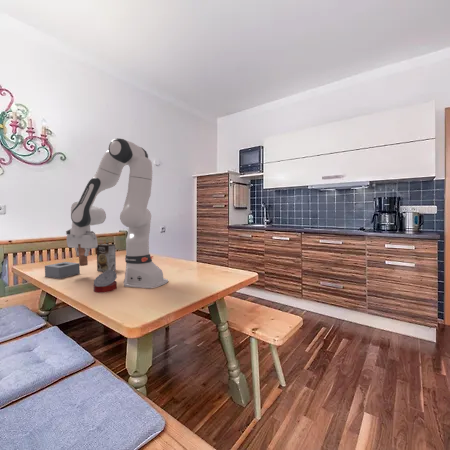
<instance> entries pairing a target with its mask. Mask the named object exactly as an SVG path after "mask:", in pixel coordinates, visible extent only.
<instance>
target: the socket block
mask: <svg viewBox="0 0 450 450" xmlns="http://www.w3.org/2000/svg"><path fill="white" fill-rule="evenodd" d="M80 267H81V266H79V262H70V261H63V262H58V263H53V264H52V263H51V264H47V265H44V277H47V278H53V279H57V280H58V279H59V280H60V279H63V278H67V277H71V276H77V275H79V274H80V272H81V270H80Z"/></svg>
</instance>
